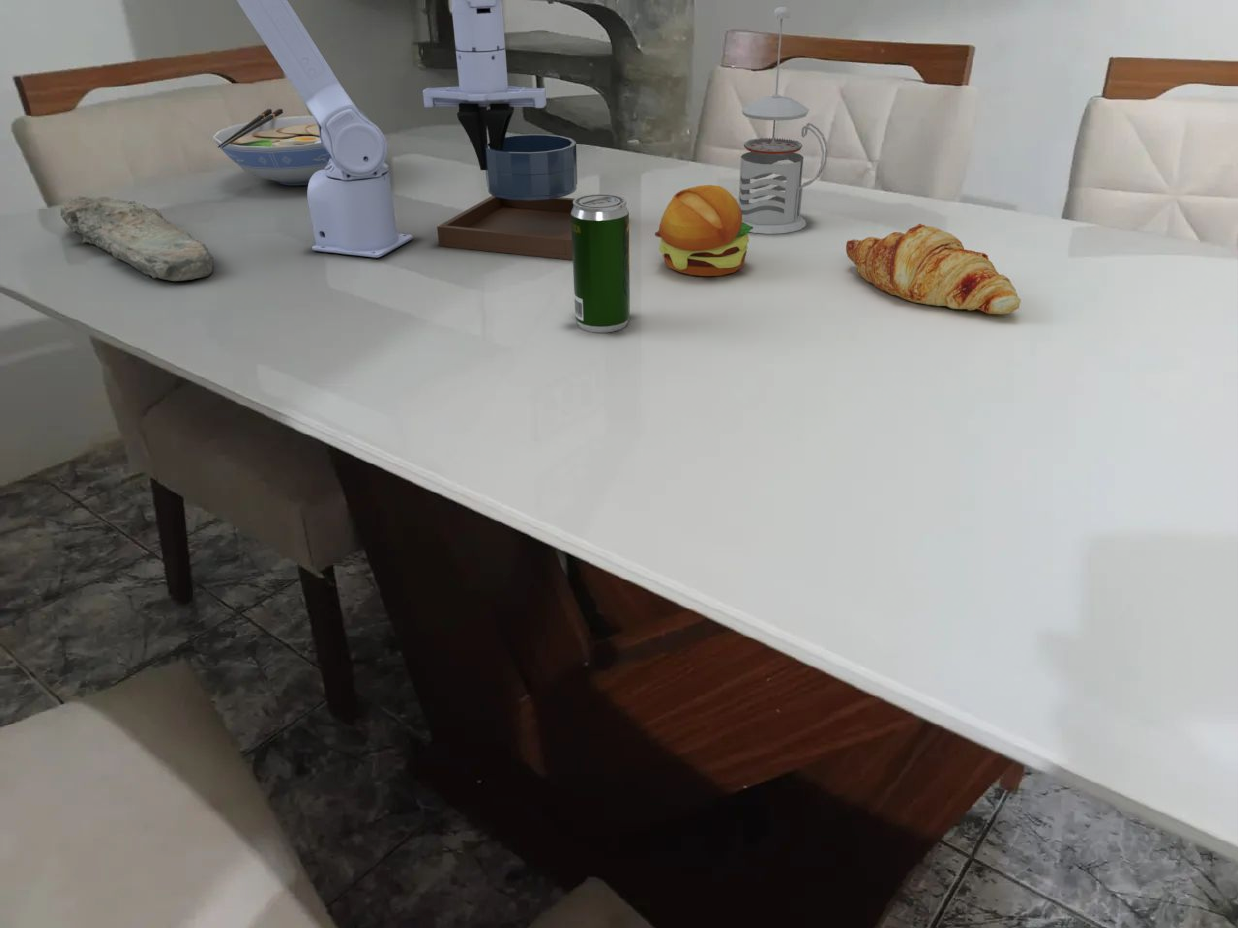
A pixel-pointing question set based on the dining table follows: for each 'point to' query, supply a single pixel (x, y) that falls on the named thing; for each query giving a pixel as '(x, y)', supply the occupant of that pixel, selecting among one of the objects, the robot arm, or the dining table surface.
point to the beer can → (601, 262)
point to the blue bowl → (532, 167)
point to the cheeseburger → (703, 232)
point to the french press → (756, 164)
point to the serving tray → (513, 227)
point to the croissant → (933, 271)
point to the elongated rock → (138, 237)
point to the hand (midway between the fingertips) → (490, 168)
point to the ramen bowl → (276, 147)
